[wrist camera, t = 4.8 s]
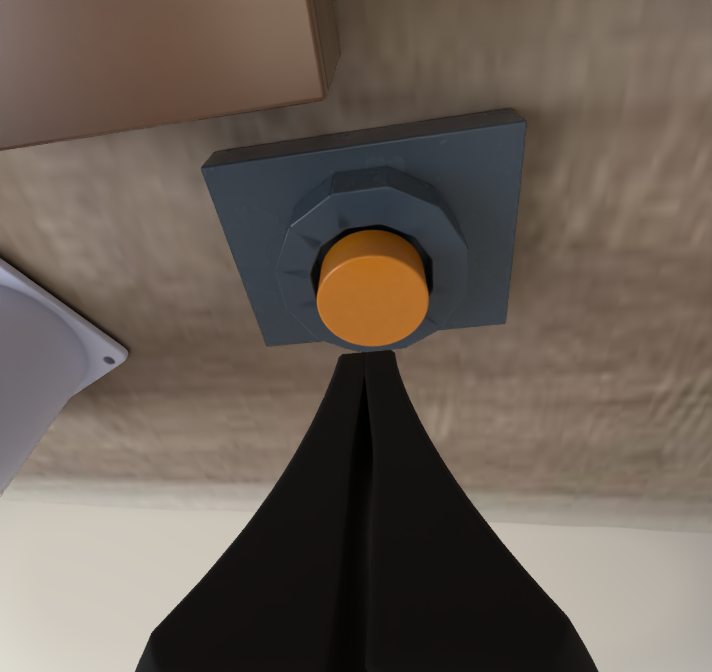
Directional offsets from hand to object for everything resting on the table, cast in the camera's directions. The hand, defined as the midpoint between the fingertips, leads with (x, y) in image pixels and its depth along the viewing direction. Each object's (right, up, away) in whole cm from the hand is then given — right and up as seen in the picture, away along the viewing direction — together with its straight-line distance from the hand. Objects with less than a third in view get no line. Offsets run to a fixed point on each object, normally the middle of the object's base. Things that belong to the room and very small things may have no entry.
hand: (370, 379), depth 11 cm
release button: (0, +3, +4) cm, 5 cm away
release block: (0, +5, +6) cm, 8 cm away
